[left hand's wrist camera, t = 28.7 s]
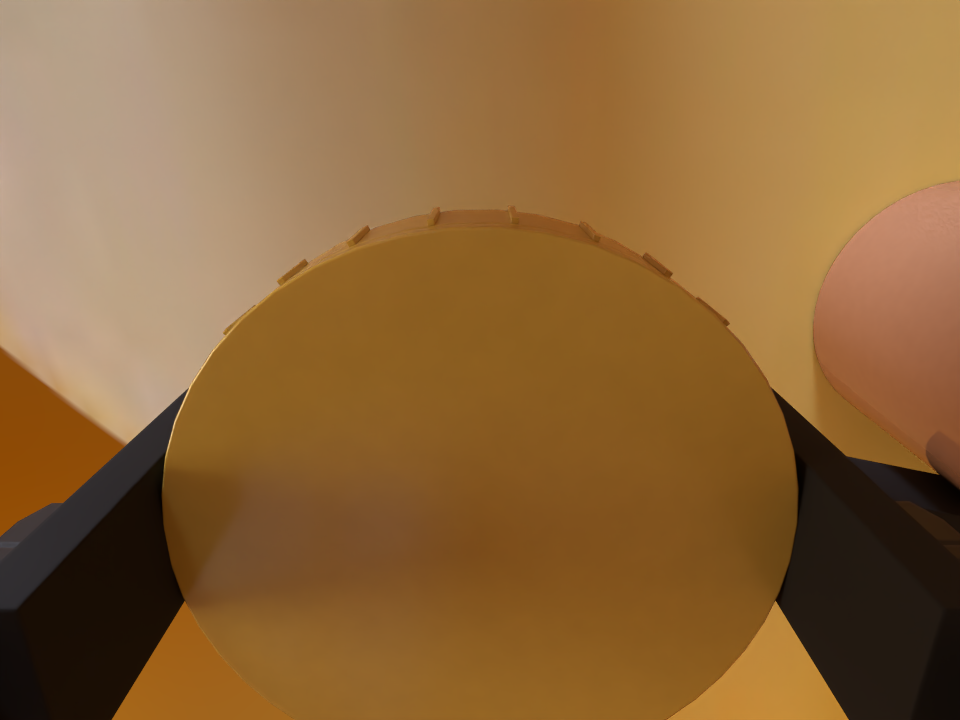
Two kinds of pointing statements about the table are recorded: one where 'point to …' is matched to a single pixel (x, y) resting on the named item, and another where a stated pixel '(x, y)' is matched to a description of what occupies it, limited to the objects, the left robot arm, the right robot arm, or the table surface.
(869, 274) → the jar
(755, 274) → the table surface
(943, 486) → the right robot arm
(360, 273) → the lid
